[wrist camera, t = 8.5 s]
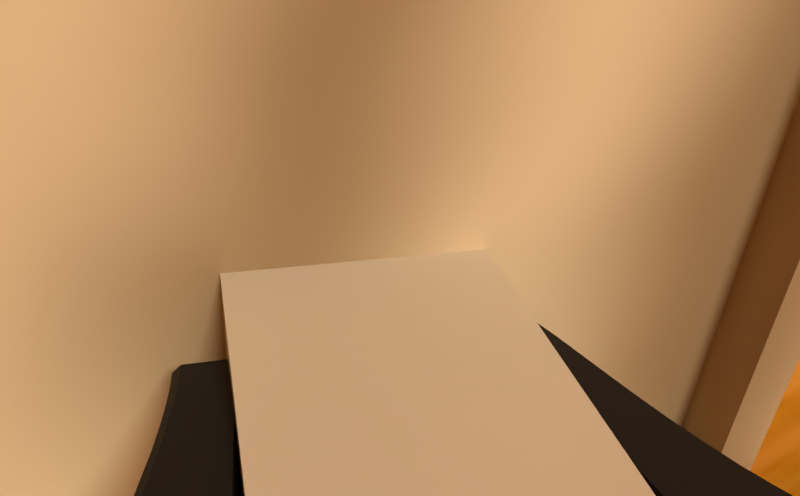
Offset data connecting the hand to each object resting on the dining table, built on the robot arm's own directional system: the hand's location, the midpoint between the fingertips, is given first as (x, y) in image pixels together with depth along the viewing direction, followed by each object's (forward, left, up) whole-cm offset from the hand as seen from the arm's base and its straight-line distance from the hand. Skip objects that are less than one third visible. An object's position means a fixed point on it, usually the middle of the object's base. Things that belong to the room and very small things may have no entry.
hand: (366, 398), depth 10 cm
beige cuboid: (0, 0, -1) cm, 1 cm away
